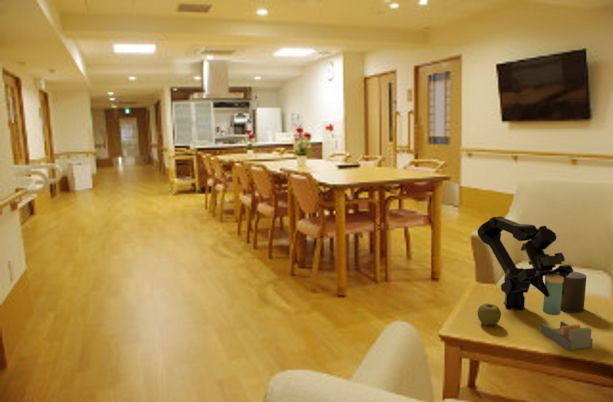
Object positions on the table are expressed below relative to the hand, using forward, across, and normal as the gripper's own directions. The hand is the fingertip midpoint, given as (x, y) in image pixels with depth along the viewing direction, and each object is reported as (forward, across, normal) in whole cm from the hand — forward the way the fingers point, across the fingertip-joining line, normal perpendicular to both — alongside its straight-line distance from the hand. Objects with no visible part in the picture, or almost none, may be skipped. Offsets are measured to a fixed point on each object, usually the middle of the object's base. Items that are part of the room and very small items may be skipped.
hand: (555, 295), depth 169 cm
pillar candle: (-2, +20, +21) cm, 29 cm away
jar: (+4, 0, +6) cm, 7 cm away
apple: (+2, -18, +17) cm, 25 cm away
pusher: (+15, 0, +3) cm, 15 cm away
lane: (+14, 0, +5) cm, 15 cm away
